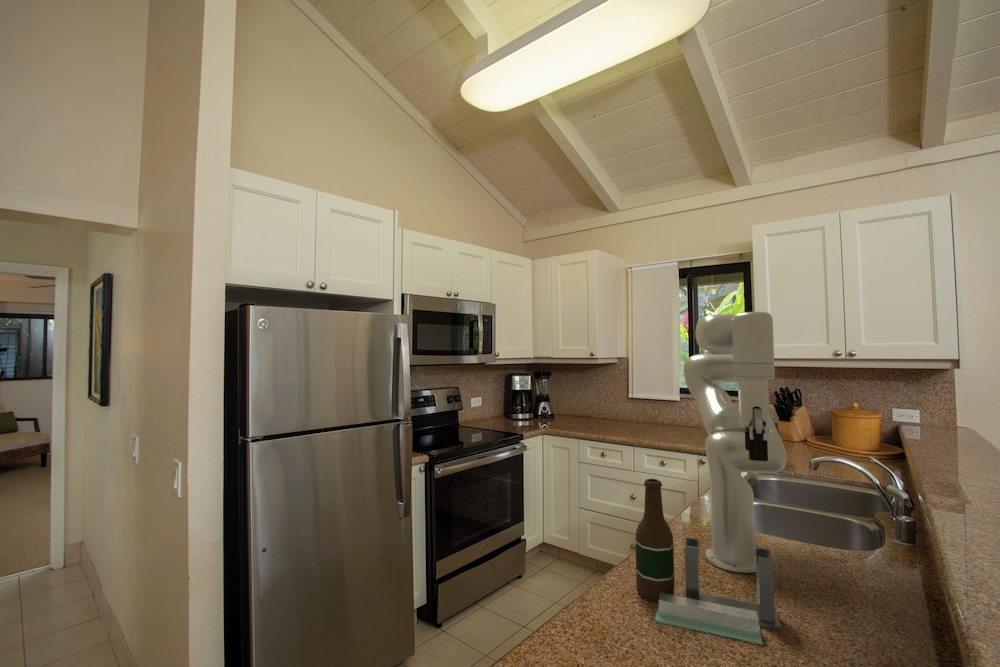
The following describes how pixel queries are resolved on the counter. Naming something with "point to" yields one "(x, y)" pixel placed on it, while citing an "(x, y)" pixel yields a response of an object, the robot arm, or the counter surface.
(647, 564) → the beer bottle
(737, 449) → the robot arm
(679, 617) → the rail
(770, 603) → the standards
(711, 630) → the mat
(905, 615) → the counter surface
